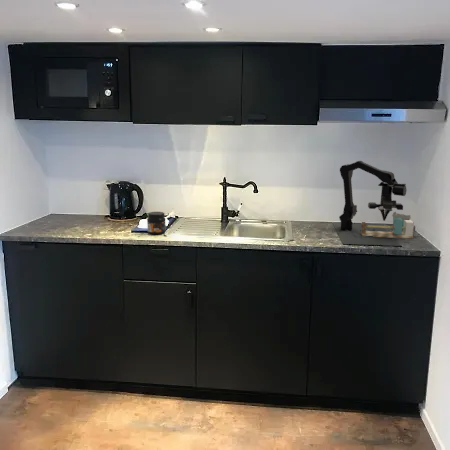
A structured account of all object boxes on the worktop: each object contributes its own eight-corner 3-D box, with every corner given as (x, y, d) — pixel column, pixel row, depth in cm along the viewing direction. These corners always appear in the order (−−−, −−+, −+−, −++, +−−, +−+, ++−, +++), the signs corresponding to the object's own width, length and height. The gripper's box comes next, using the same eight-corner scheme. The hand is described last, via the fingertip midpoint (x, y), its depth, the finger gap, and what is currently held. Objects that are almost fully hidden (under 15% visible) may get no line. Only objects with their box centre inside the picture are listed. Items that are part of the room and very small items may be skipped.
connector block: (405, 235, 272) (406, 222, 271) (402, 233, 279) (403, 219, 277) (415, 236, 272) (416, 222, 270) (412, 233, 278) (413, 220, 277)
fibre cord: (364, 227, 277) (364, 225, 277) (364, 227, 279) (364, 224, 278) (405, 229, 274) (405, 226, 274) (405, 228, 276) (405, 226, 275)
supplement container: (145, 235, 272) (144, 214, 269) (149, 230, 282) (149, 211, 279) (163, 235, 271) (163, 215, 268) (167, 231, 281) (166, 211, 278)
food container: (386, 228, 295) (388, 212, 293) (393, 227, 298) (395, 211, 296) (401, 232, 285) (403, 216, 282) (409, 231, 288) (410, 215, 285)
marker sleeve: (394, 234, 274) (395, 220, 272) (392, 231, 279) (393, 217, 277) (401, 234, 273) (403, 220, 271) (399, 232, 279) (400, 218, 277)
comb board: (362, 236, 274) (363, 224, 273) (360, 232, 284) (361, 220, 282) (412, 238, 271) (414, 226, 269) (408, 234, 280) (409, 222, 279)
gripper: (372, 195, 265) (369, 223, 269) (406, 197, 263) (403, 224, 267) (368, 192, 276) (366, 218, 280) (402, 193, 274) (399, 220, 277)
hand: (384, 220), depth 276 cm, fingers closed
